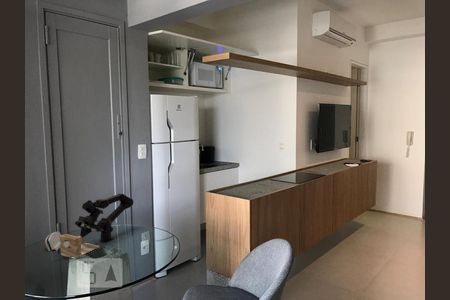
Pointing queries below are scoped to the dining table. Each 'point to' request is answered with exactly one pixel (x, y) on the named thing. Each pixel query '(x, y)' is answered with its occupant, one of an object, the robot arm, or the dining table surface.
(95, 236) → the dining table surface
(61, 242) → the bearing stand
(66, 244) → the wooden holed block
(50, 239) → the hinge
